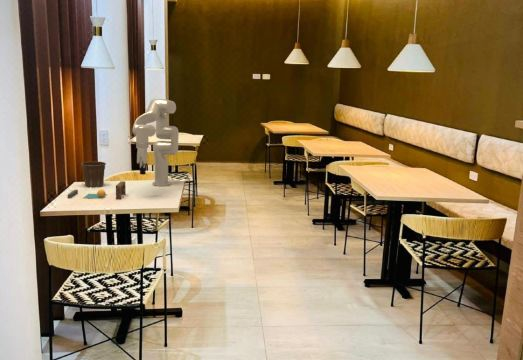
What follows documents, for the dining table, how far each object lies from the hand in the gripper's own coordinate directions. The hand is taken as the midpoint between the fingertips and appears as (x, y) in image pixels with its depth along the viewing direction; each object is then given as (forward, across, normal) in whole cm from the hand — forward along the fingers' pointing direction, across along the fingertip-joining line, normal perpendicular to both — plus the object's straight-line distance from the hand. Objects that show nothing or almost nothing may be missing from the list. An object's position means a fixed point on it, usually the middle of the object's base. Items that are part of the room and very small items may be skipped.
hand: (142, 174), depth 312 cm
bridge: (+15, 0, -14) cm, 21 cm away
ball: (+13, +2, -26) cm, 29 cm away
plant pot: (+15, -31, -39) cm, 52 cm away
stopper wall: (+15, 0, -44) cm, 47 cm away
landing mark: (+15, 0, -30) cm, 34 cm away
